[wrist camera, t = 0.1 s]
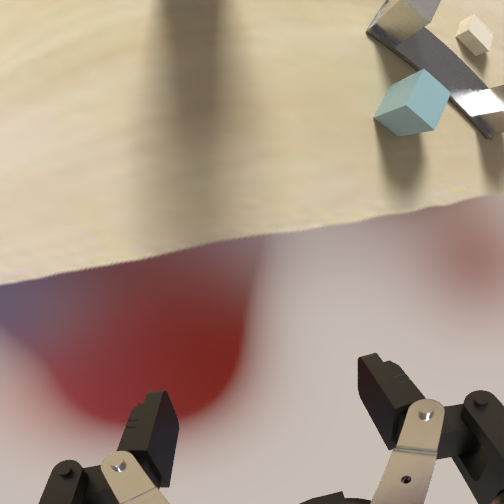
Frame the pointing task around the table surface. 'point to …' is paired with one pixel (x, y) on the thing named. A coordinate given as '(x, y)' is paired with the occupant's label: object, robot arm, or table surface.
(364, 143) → the table surface
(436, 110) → the block
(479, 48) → the block
